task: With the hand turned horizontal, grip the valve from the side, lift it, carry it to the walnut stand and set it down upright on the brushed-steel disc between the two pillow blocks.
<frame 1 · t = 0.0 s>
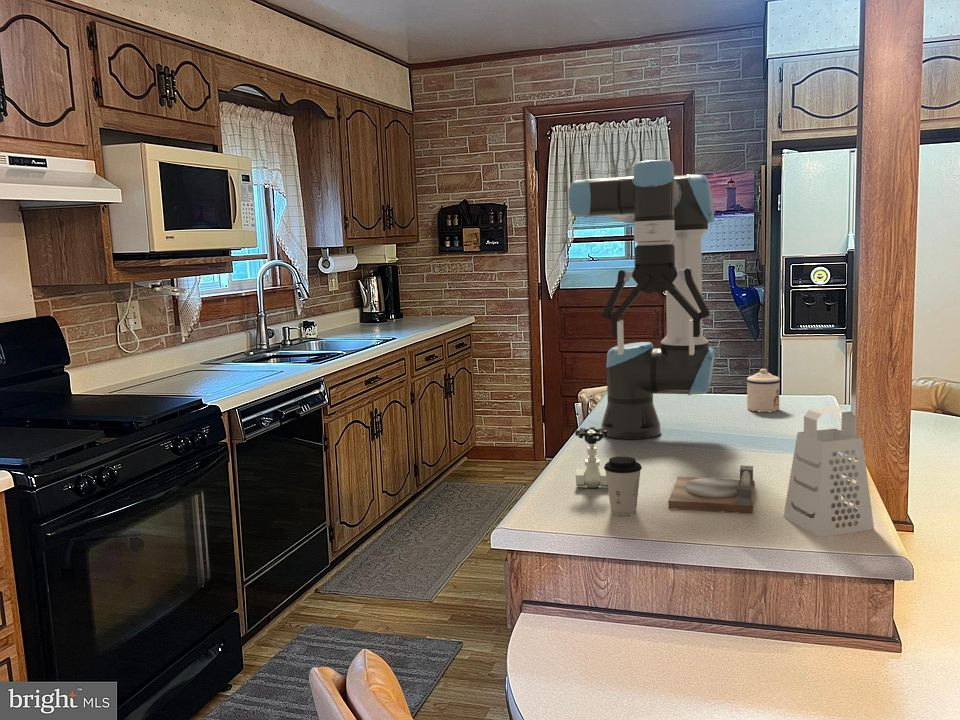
hand: (655, 354, 160), 28 cm above the counter, tool pointing down, fingers open, 13 cm apart
coffee cup: (623, 512, 154), on the counter
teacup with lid: (762, 409, 237), on the counter
shaft stand: (712, 497, 160), on the counter
grater: (827, 524, 144), on the counter
valve: (592, 488, 170), on the counter
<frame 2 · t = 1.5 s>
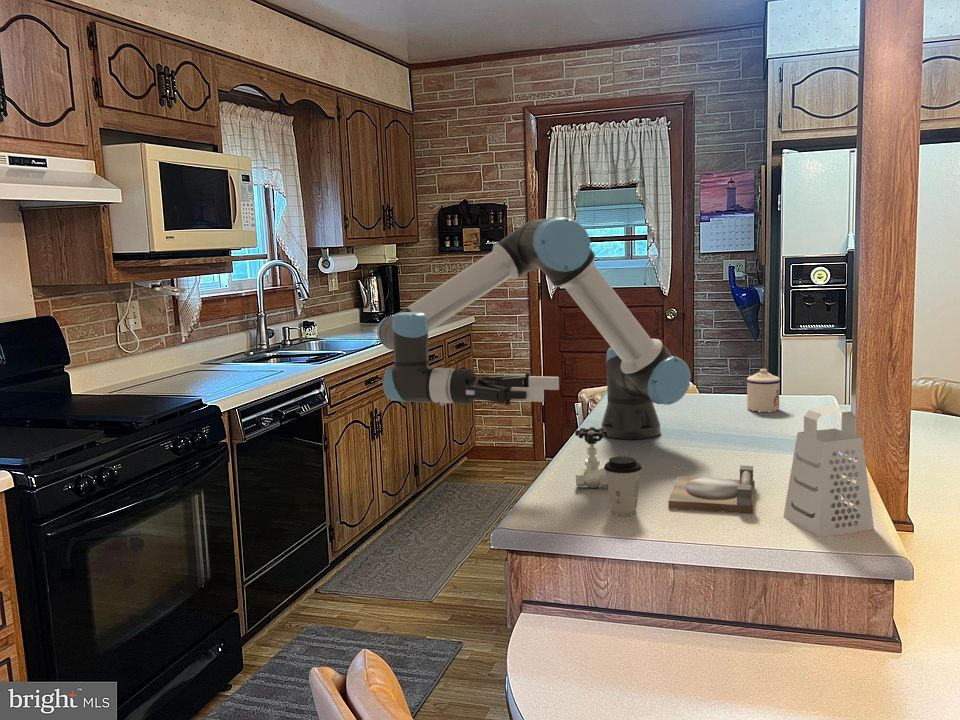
hand: (551, 389, 170), 20 cm above the counter, tool horizontal, fingers open, 13 cm apart
nothing on the counter moved.
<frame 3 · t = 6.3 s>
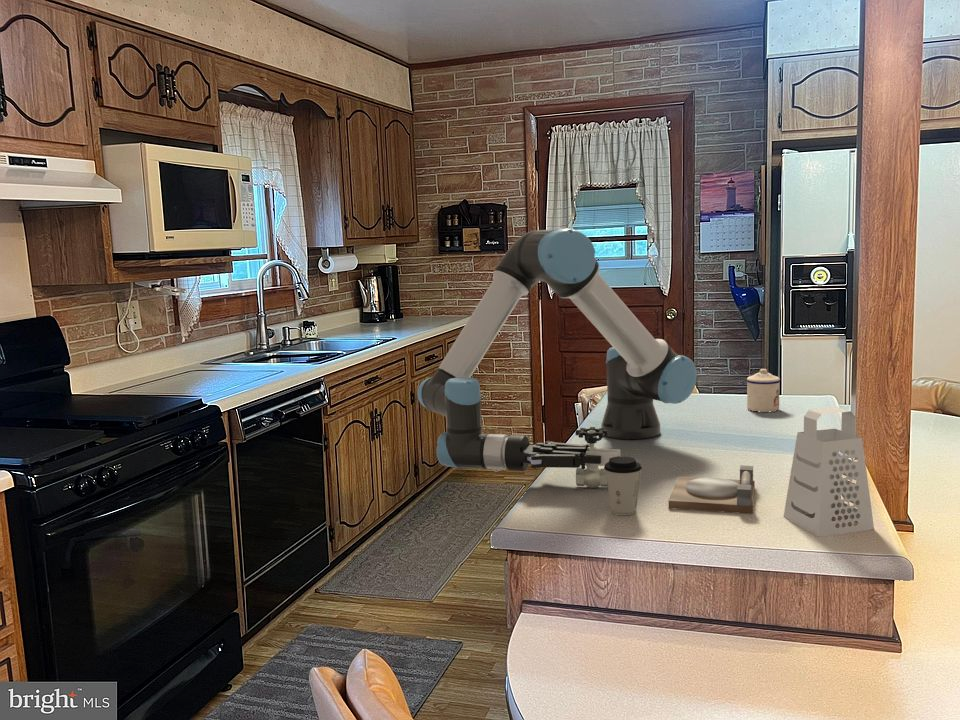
hand: (618, 457, 167), 7 cm above the counter, tool horizontal, fingers closed on valve, 2 cm apart
valve: (592, 488, 170), on the counter, touching gripper
everything else where it was.
when the fingers open (9 cm above the counter, at t = 10.5 s): valve stays where it is, resting on shaft stand.
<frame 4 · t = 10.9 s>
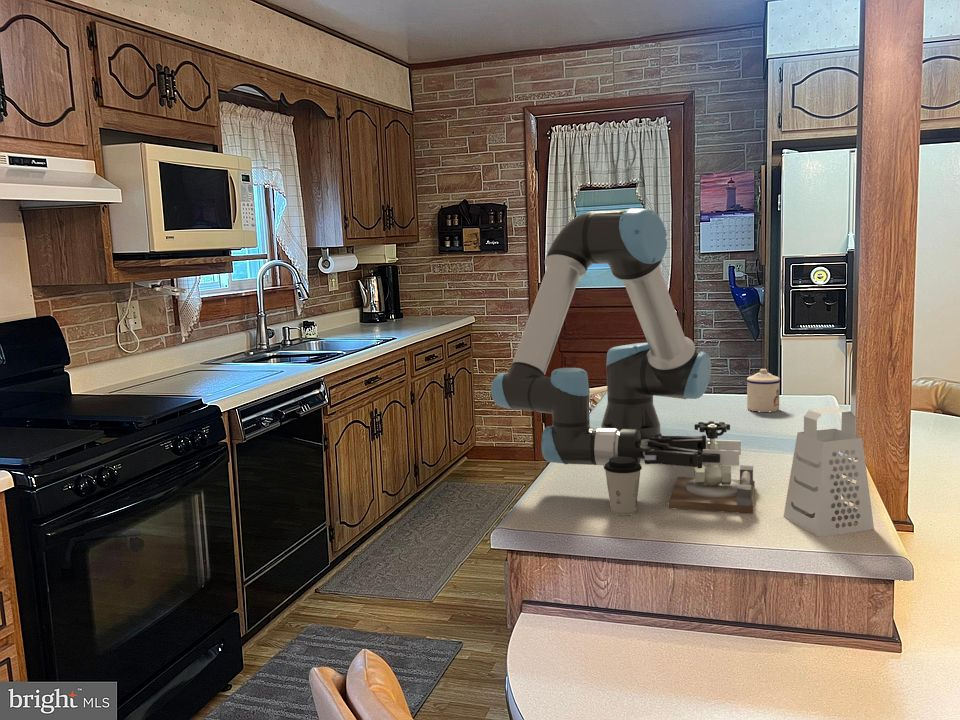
hand: (739, 452, 157), 9 cm above the counter, tool horizontal, fingers open, 7 cm apart
valve: (712, 486, 160), point 2 cm above the counter, touching shaft stand
everything else where it was.
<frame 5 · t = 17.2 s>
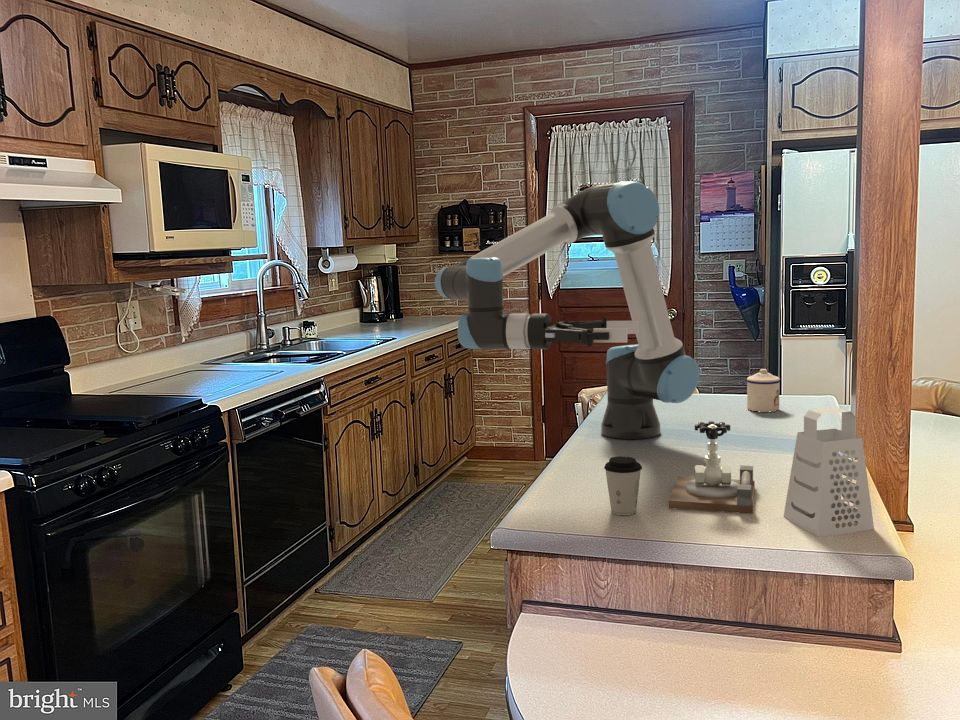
hand: (633, 331, 165), 32 cm above the counter, tool horizontal, fingers open, 13 cm apart
nothing on the counter moved.
at the end: valve inside the target area on the shaft stand (0.2 cm from its centre), point 2.3 cm above the shaft stand's base; valve tilted 0°; the gripper is holding nothing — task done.
